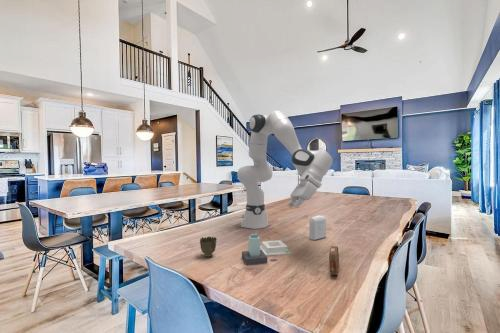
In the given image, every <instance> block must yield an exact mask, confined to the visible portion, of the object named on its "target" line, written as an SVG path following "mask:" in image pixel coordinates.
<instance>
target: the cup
mask: <svg viewBox="0 0 500 333" xmlns="http://www.w3.org/2000/svg"><path fill="white" fill-rule="evenodd" d="M199 239H200V240H199V243H200V250H201V252H202V253H203V256H204V257H205V258H211V257H212V256H213V253H214V252H215V251H216V248H217V247H216V246H217V240H218V238H217V237H216V236H215V237H214V236H207V237H206V236H205V237H200V238H199Z"/></svg>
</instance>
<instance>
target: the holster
mask: <svg viewBox="0 0 500 333" xmlns="http://www.w3.org/2000/svg"><path fill="white" fill-rule="evenodd" d="M241 258H242V260H243V261H244V264H245V266H253V265H262V264H268V256H266V255H265V254H264V252H263V251H262V250H261V249H260V256H255V257H250V256H249V250H243V251H242V252H241Z"/></svg>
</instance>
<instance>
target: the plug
mask: <svg viewBox="0 0 500 333" xmlns="http://www.w3.org/2000/svg"><path fill="white" fill-rule="evenodd" d="M260 246H261V238H260V236H259V234H258V233H250V235H248V251H249V256H250V257H255V256H260V250H261V249H260Z"/></svg>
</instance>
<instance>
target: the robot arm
mask: <svg viewBox="0 0 500 333" xmlns="http://www.w3.org/2000/svg"><path fill="white" fill-rule="evenodd" d="M248 126H249V129H250V131H251V133H250V138H249V145H248V146H249V147H248V157H249V158H250V159H252V161H253V165H245V166H242V167H239V169H238V171H237V172H236V173H237V179H238V181H239V182H240V183H241V184H242V185H243V186H244V189H245V193H246V194H245V195H246V204H245V211H244V213H243V214H241V220H240V227H241V228H247V229H254V230H255V229H256V230H257V229H265V228H267V227H268V226H270V225H271V224H270V222H268V212H267V211H265V209H266V208H265V207H266V205H265V193H264V191H263V189H261V188H260V186H259V183H264V182H268V181H269V180H271V179H272V178H273V177H272V176H273V170H272V167H270V165H269V163H268V160H267V149H268V137H269V136H270V135H271V136H275V138H276V139H277V140H278V141H279V142H280V143H281V144H282V145H283V146H284V147H285V148H286V149H287V150H288V152H289V153H290V155H291V162H292V165H293V166H294V168H295V169H296V170H297V172H298V176H299V179H298V180H299V184H297V185H296V187H295V188H294V189H293V191H291V194H290V198H291V199H290V201H289V203H288V205H287V206H288V207H289V208H293V207H294V208H295V209H298V208H299V207H300V206H301V205H302V204H303V203H304V202H305V201H309V200H310V199H312V197H313V196H314V195H315V193H316V192H317V190H318V189H320V188H321V186H322V185H323V184H322V183H321V182H322V180H323V178H324V176H326V175H327V173H328V172H329V170H330V169H331V167H332V165H333V162H334V161H333V160H334V159H333V156H332V155H331V154H330V153H329V151H327V150H326V149H323V148H321V149H317V150H310V149H306V148H302V146H301V144H300V141H299V138H298V136H297V133H296V130H295V128H294V125H293V122H291V120H290V119H289V117H288V116H287V115H286V114H285V113H283V111H281V110H277V109H275V110H272V111H271V112H270V113H269V114H254V115H252V116H251V117H250V119H249V121H248Z"/></svg>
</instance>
